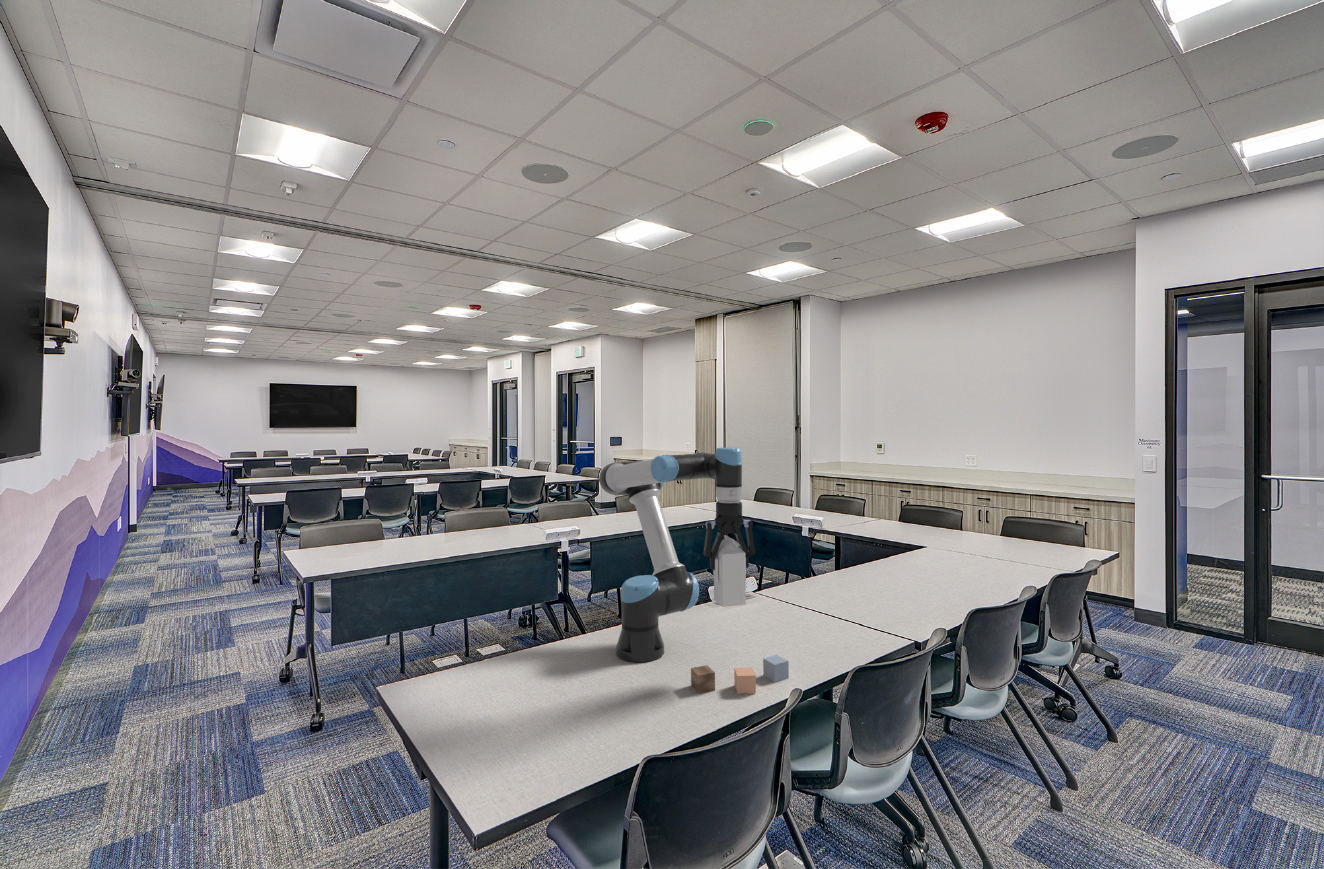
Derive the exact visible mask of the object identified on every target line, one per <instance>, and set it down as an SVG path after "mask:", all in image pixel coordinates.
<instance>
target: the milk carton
mask: <svg viewBox="0 0 1324 869" xmlns="http://www.w3.org/2000/svg"><path fill="white" fill-rule="evenodd" d="M723 538H724V539H722V541H721V544H720V547H719V549H718V552H717V555H716V558H717V559H718V582H715V581H714V580H713V600H714V601H715V602H716V603H717V604H719V605H720V606H721V607H726V608H727V607H735V606H744V605H745V606H746V604H747V600H746V599H747V598H746V597H747V593H746V592H747V588H746V587H747V586H746V582H747V578H746V577H747V575H746V574H747V572H746V570H747V568H746V560H745V552H744V551H742V550H741V548H740V544H739V543H738V541H737V540H735V539H734V538H731V537H730V536H728V535H727V534H725V535H724V537H723Z"/></svg>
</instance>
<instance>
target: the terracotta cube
mask: <svg viewBox="0 0 1324 869" xmlns="http://www.w3.org/2000/svg"><path fill="white" fill-rule="evenodd" d="M733 669H734V670H733V671H734V678H733V681H734V684H733V686H734V688H735V691H737V692H736V694H737V695H739V694H738V693H756V694H757V690H756V689H757V687H756V686H757V681H756V679H757V675H756V674H755V673H756V672H755V670H754V668H753V667H734V668H733Z"/></svg>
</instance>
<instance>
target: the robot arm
mask: <svg viewBox="0 0 1324 869" xmlns="http://www.w3.org/2000/svg"><path fill="white" fill-rule="evenodd" d="M742 458H743V457H742V450H741V449H740V448H739V447H717V448H716V449H715V452H714V453H708V452H707V453H706V452H694V453H688V454H687V453H685V454H662V455H657V456H655V457H654V458H651V459H646V460H644V459H643V460H642V459H640V460H636V461H634V460H633V461H617V462H611V463H609V464H607V465H605V466H604V467H603V468H602V470H600V472H599V478H598V483H599V485H600V487H601V488H602V490H603V491H604V492H606V494H607V493H608V494H610V495H612V496H627V498H628V502H629V503H631V504H632V505H634V506H635V509H636V513H637V516H638V519H639V523H640V526H641V530H642V533H643V536H644V539H645V543H646V546H647V549H648V553H649V555H650V559H651V563H652V566H653V573H652V575H651V574H644V575H642V574H641V575H635V576H633V577H629V578H628V579H626V580H625V581H624V582H623V584H622V585H621V593H620V600H621V602H620V603H621V608H620V609H621V629H620V633H619V638H618V640H617V644H616V656H617V657H618V658H619V659H620V660H623V661H627V662H632V663H646V662H647V663H648V662H651V661H655V660H659V659H660V658H662V657H663V656H664V654H665V644H664V640H663V637H662V635H661V631H660V628H659V617H662V616H663V617H664V616H667V615H670V614H675V613H678V612H684V611H686V610H688V609H689V610H690V609H691V608H693V607H694V606H695V605H696V604H697V602H698V599H699V594H700V586H699V581H698V580H697V577H696V576H695V575H694V574H693V573H692V572H690V571H689V572H688V571H687V569H686V566H685V565H684V564H683V563H680V562H679V559H678V556H677V551H676V549H675V547H674V543H673V539H672V537H671V536H672V535H671V534H670V529H669V526H668V523H667V521H666V518H665V515H664V511H663V509H662V505H661V502H660V499H659V497H660V495H661V493H662V491H661V490H662V488H663V486H664V483H668V482H669V483H671V482H676V481H685V480H686V481H688V480H699V479H713V480H715V500H716V502H715V518H714V520H711V521H705V529H706V531H705V538H704V545H703V552H702V554H703V555H704V557H706V558H709V568H710V570H711V571H712V577H713V579H712V580H713V582H714V581H715V582H718V559H717V558H716V555H717V552H718V549H719V547H720V544H721V542H722V541H723V540H724V539H723V538H724V535H729V534H733V535H734V536H735V538H736V541H737V542H738V543H739V544H740V546H739V548H740V549H741V550H742V551H744V552H745V560H746V569H748V568H749V567H750V558H751V556H754V555H755V554H756V549H755V548H756V547H755V542H754V541H755V540H754V535H753V524H754V522H753V521H752V520H750V519H744V518H743V502H742V499H743V480H742V479H743V459H742ZM715 525H716V527H717V528H718V531H717V533H716V536H715V539H714V542H713V544H712V537H713V529H714V528H715ZM742 525H743V526H744V528H745V535H746V541H747V542H746V543H745V540H744V539H743V536H742V533H741V529H740V528H741V527H742ZM746 544H747V546H746ZM711 546H712V547H711ZM747 547H748V548H747Z"/></svg>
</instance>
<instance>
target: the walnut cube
mask: <svg viewBox="0 0 1324 869" xmlns="http://www.w3.org/2000/svg"><path fill="white" fill-rule="evenodd" d="M690 686H691V687H692V688H693V690H694V691H695V692H696V693H697V694H704V693H709V692H713V691H716V672H715V671H714V670H713V669H712V668H711V667H710V666H709V664H708V665H707V664H706V665H701V666H700V665H699V666H695V667H691V668H690Z"/></svg>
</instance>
